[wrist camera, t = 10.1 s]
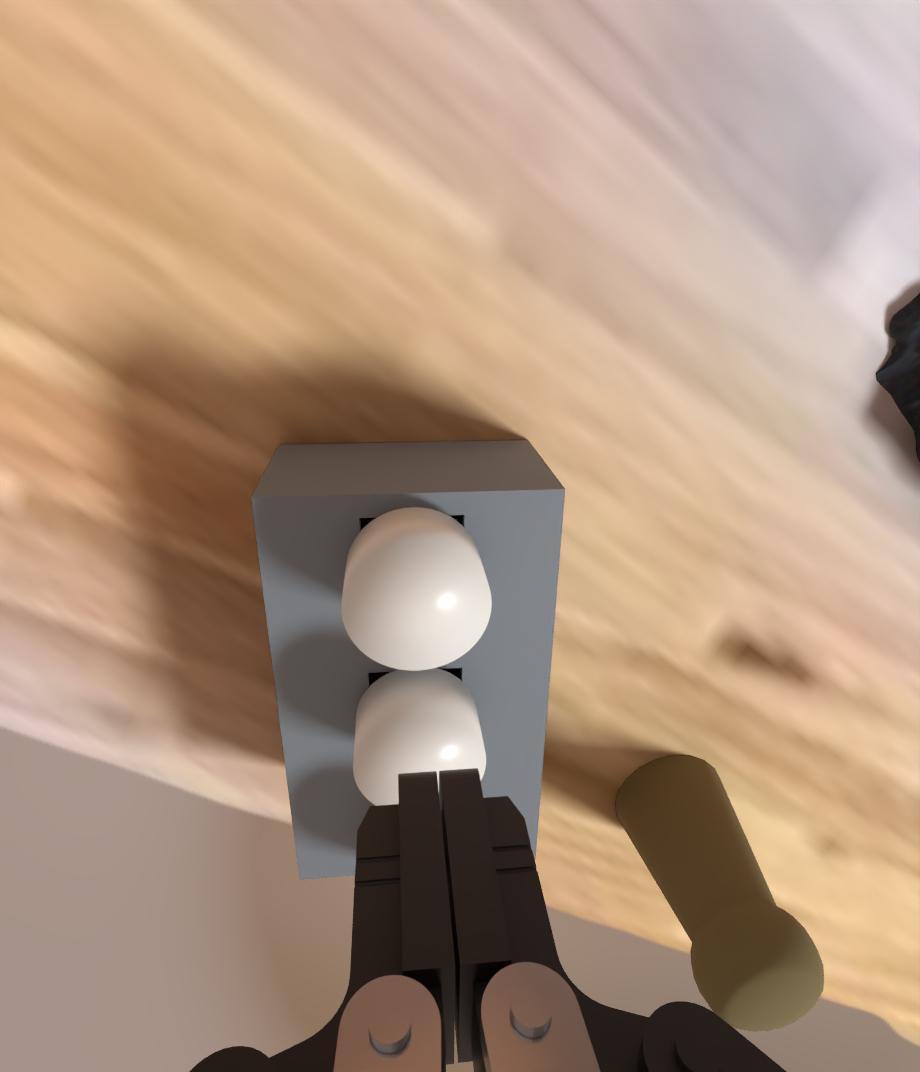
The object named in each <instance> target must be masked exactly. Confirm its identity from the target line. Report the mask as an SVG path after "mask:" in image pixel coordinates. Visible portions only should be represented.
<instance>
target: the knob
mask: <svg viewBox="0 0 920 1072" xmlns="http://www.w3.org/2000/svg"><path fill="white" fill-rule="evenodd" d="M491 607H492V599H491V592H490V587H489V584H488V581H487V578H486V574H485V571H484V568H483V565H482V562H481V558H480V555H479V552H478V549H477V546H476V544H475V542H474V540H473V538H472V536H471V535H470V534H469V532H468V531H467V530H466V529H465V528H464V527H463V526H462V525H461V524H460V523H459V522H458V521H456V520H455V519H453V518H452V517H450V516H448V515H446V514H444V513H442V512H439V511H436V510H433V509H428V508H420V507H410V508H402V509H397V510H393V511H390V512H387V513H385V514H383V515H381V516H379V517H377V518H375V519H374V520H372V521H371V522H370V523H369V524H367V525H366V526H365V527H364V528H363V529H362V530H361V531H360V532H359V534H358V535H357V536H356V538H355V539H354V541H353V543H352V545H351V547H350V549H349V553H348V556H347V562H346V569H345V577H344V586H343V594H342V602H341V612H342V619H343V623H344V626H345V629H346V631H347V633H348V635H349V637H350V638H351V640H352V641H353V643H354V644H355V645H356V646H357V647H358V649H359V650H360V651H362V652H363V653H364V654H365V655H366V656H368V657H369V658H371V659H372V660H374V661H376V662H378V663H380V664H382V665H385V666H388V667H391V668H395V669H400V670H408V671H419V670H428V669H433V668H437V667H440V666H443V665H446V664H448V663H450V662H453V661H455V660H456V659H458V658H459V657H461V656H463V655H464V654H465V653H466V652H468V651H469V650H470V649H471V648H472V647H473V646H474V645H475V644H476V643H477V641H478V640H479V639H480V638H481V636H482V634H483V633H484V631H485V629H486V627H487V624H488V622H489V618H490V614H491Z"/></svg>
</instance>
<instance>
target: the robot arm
mask: <svg viewBox="0 0 920 1072" xmlns="http://www.w3.org/2000/svg"><path fill="white" fill-rule="evenodd" d="M398 794H399V804H394V805H380V806H370V807H369V809H368V811H367V813H366V815H365V817H364V819H363V821H362V823H361V825H360V826H359V828H358V830H357V846H356V866H355V888H354V909H353V929H352V949H351V970H350V980H349V986H348V990H347V993H346V995H345V998H344V1001H343V1003H342V1004H341V1006H340V1008H339V1009H338V1011H337V1013H336V1014H335V1015H334V1017H333V1018H332V1019H331V1020H330V1022H328V1023H327V1025H325V1026H324V1028H323V1029H321V1030H320V1031H319V1032H317V1033H316V1034H315V1035H313V1036H312V1037H310V1038H308V1039H307V1040H305V1041H303V1042H301V1043H299V1044H297V1045H295V1046H293V1047H291V1048H289V1049H286V1050H284V1051H282V1052H280V1053H278V1054H276V1055H274V1056H272V1057H270V1058H268V1057H267V1056H266V1055H265V1054H263V1053H262V1052H260V1051H259V1050H256V1049H254V1048H251V1047H244V1046H237V1047H230V1048H225V1049H222V1050H220V1051H217V1052H215V1053H213V1054H211V1055H210V1056H208V1057H206V1058H205V1059H203V1060H202V1061H201V1062H199V1063H198V1064H197V1065H196V1066H195V1067H194V1068H193V1069H192V1070H191V1071H190V1072H446V1064H454V1022H455V1031H456V1042H457V1053H458V1063H459V1062H469V1061H473V1066H474V1072H786V1071H785V1070H784V1069H782V1068H781V1067H780V1066H779V1065H778V1064H776V1063H775V1062H774V1061H773V1060H772V1059H770V1058H769V1057H768V1056H767V1055H766V1054H764V1053H763V1052H762V1051H760V1050H759V1049H758V1048H757V1047H756V1046H755V1045H753V1044H752V1043H751V1042H750V1041H749V1040H747V1039H746V1038H745V1037H743V1035H741V1034H740V1033H739V1032H737V1031H736V1030H735V1029H734V1028H733V1027H732V1026H730V1025H729V1024H728V1023H727V1022H726V1021H724V1020H723V1019H722V1018H721V1017H719V1016H718V1015H716V1014H715V1013H714V1012H712V1011H710V1010H709V1009H706V1008H705V1007H703V1006H700V1005H697V1004H695V1003H690V1002H671V1003H668V1004H665V1005H663V1006H661V1007H659V1008H658V1009H657V1010H655V1011H654V1012H653V1014H652V1015H651V1016H650V1017H645V1016H641V1015H637V1014H633V1013H630V1012H625V1011H622V1010H618V1009H614V1008H611V1007H608V1006H605V1005H602V1004H600V1003H598V1002H596V1001H594V1000H592V999H591V998H589V997H588V996H586V995H584V994H583V993H582V992H581V991H580V990H579V989H578V988H577V987H576V986H575V985H574V984H573V983H572V981H571V980H570V979H569V978H568V976H567V975H566V973H565V972H564V970H563V968H562V966H561V964H560V961H559V958H558V955H557V951H556V947H555V943H554V939H553V934H552V930H551V926H550V922H549V918H548V914H547V910H546V905H545V901H544V897H543V893H542V889H541V884H540V880H539V876H538V872H537V871H536V864H535V860H534V855H533V851H532V849H531V843H530V839H529V835H528V830H527V826H526V822H525V818H524V817H523V815H522V814H521V813H520V811H519V810H518V809H517V807H516V806H515V805H514V803H513V802H512V801H511V799H510V798H509V797H508V796H501V797H487V798H483V792H482V787H481V781H480V775H479V771H478V769H477V768H473V769H458V770H443V771H439V791H438V780H437V772H436V771H432V772H417V773H402V774H398Z"/></svg>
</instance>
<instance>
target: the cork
mask: <svg viewBox="0 0 920 1072" xmlns="http://www.w3.org/2000/svg"><path fill="white" fill-rule="evenodd" d="M615 807H616V815H617V817H618V819H619V821H620V822H621V824H622V826H623V827H624V829H625V831H626V832H627V834H628V836H629V837H630V839H631V841H632V843H633V844H634V846H635V848H636V849H637V851H638V853H639V854H640V856H641V858H642V859H643V861H644V863H645V864H646V866H647V868H648V869H649V871H650V873H651V874H652V876H653V878H654V879H655V881H656V883H657V884H658V886H659V888H660V889H661V891H662V893H663V894H664V896H665V898H666V899H667V901H668V903H669V904H670V906H671V908H672V909H673V911H674V913H675V915H676V916H677V918H678V920H679V921H680V923H681V925H682V926H683V928H684V930H685V931H686V933H687V935H688V936H689V938H690V940H691V941H692V947H691V964H692V969H693V975H694V979H695V981H696V984H697V986H698V989H699V991H700V993H701V994H702V996H703V997H704V999H705V1000H706V1002H707V1003H708V1004H709V1006H710V1007H711V1009H712V1010H713V1012H714V1013H715V1014H716V1015H718V1016H719V1017H721V1018H722V1019H723V1020H724V1021H726V1022H727V1023H728V1024H729V1025H731V1026H733V1027H735V1028H737V1029H743V1030H748V1031H769V1030H773V1029H777V1028H781V1027H784V1026H786V1025H788V1024H790V1023H793V1022H795V1021H796V1020H798V1019H799V1018H801V1017H802V1016H804V1015H805V1014H806V1013H807V1012H808V1011H809V1010H810V1009H811V1008H812V1007H813V1006H814V1005H815V1004H816V1002H817V1001H818V999H819V997H820V995H821V993H822V991H823V985H824V972H823V964H822V961H821V958H820V955H819V953H818V950H817V948H816V946H815V944H814V942H813V941H812V939H811V938H810V936H809V934H808V933H807V931H806V930H805V928H804V927H803V926H802V925H801V924H800V923H799V922H798V921H797V920H796V919H795V918H794V917H793V916H792V915H790V914H789V913H787V912H786V911H785V910H783V909H781V908H779V907H777V906H776V904H775V901H774V899H773V897H772V895H771V892H770V890H769V888H768V886H767V883H766V881H765V879H764V877H763V874H762V872H761V870H760V868H759V865H758V863H757V861H756V859H755V856H754V854H753V852H752V850H751V847H750V845H749V843H748V841H747V838H746V836H745V834H744V832H743V829H742V827H741V825H740V823H739V820H738V818H737V816H736V814H735V811H734V809H733V807H732V805H731V802H730V800H729V798H728V796H727V793H726V791H725V789H724V787H723V784H722V782H721V780H720V778H719V776H718V774H717V772H716V770H715V768H714V767H712V766H711V765H710V764H708V763H707V762H706V761H705V760H702V759H699V758H696V757H693V756H679V755H673V756H669V757H665V758H660V759H656V760H654V761H652V762H650V763H648V764H646V765H644V766H642V767H640V768H639V769H638V770H637V771H635V772H634V773H633V774H632V775H631V776H629V777H628V778H627V780H626V781H625V782H624V784H623V785H622V787H621V788H620V790H619V792H618V795H617V799H616V802H615Z"/></svg>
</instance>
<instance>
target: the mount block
mask: <svg viewBox="0 0 920 1072" xmlns="http://www.w3.org/2000/svg"><path fill="white" fill-rule="evenodd" d="M564 496H565V488H564V487H563V486H562V484H561V483H560V482H559V480H558V479H557V478H556V476H555V475H554V474H553V472H552V471H551V470H550V468H549V467H548V466H547V464H546V463H545V462H544V460H543V459H542V458H541V456H540V455H539V454H538V452H537V451H536V450H535V449H534V447H533V446H532V445H531V443H530V442H529V441H528V440H494V441H441V442H388V443H335V444H282V445H279V446H278V448H277V450H276V451H275V453H274V455H273V457H272V459H271V461H270V463H269V465H268V466H267V468H266V470H265V472H264V474H263V476H262V478H261V479H260V481H259V483H258V485H257V487H256V489H255V491H254V493H253V494H252V496H251V503H252V511H253V518H254V526H255V534H256V542H257V550H258V557H259V565H260V573H261V581H262V589H263V597H264V604H265V612H266V620H267V628H268V636H269V643H270V651H271V659H272V667H273V675H274V682H275V690H276V698H277V706H278V714H279V721H280V729H281V737H282V745H283V753H284V760H285V768H286V776H287V784H288V792H289V799H290V807H291V815H292V823H293V830H294V838H295V846H296V854H297V861H298V870H299V877H300V880H304V879H315V878H327V877H339V876H351V875H355V866H356V846H357V830H358V828H359V826H360V825H361V823H362V821H363V819H364V817H365V815H366V813H367V811H368V809H369V807H370V806H376V805H374V804H373V803H372V802H370V801H369V800H368V799H367V798H366V797H365V796H364V795H363V794H362V793H361V791H360V790H359V788H358V786H357V784H356V782H355V779H354V774H353V758H354V742H355V725H356V712H357V707H358V704H359V701H360V699H361V697H362V696H363V694H364V693H365V691H366V690H367V689H368V688H369V687H370V682H369V673H375V672H393V671H395V670H398V669H395V668H391V667H388V666H385V665H382V664H380V663H378V662H376V661H374V660H372V659H371V658H369V657H368V656H366V655H365V654H364V653H363V652H362V651H360V650H359V649H358V647H357V646H356V645H355V644H354V643H353V641H352V640H351V638H350V637H349V635H348V633H347V631H346V629H345V626H344V623H343V619H342V612H341V602H342V594H343V586H344V577H345V569H346V562H347V556H348V553H349V549H350V547H351V545H352V543H353V541H354V539H355V538H356V536H357V535H358V534H359V532H360V531H361V521H360V518H377V517H379V516H381V515H383V514H385V513H387V512H390V511H393V510H397V509H402V508H410V507H420V508H428V509H433V510H436V511H439V512H442V513H444V514H446V515H462V526H463V527H464V528H465V529H466V530H467V531H468V532H469V534H470V535H471V536H472V538H473V540H474V542H475V544H476V546H477V549H478V552H479V555H480V558H481V562H482V565H483V568H484V571H485V574H486V578H487V581H488V584H489V587H490V592H491V599H492V607H491V614H490V618H489V622H488V624H487V627H486V629H485V631H484V633H483V634H482V636H481V638H480V639H479V640H478V641H477V643H476V644H475V645H474V646H473V647H472V648H471V649H470V650H469V651H468V652H466V653H465V654H464V655H463V656H461V657H459V658H458V659H456V660H455V661H453V662H450V663H448V664H446V665H443V666H440V667H437V669H448V668H460V680H461V681H462V682H463V683H465V685H466V686H467V687H468V688H469V690H470V691H471V693H472V695H473V697H474V700H475V703H476V708H477V713H478V718H479V723H480V728H481V733H482V738H483V743H484V748H485V753H486V768H485V772H484V775H483V777H482V780H481V787H482V792H483V798H487V797H501V796H508V797H509V798H510V799H511V801H512V802H513V803H514V805H515V806H516V807H517V809H518V810H519V811H520V813H521V814H522V815H523V817H524V818H525V822H526V826H527V830H528V835H529V839H530V843H531V849H532V851H533V855H534V860H535V856H536V844H537V831H538V819H539V807H540V794H541V782H542V769H543V757H544V744H545V732H546V720H547V707H548V695H549V682H550V670H551V658H552V645H553V633H554V620H555V608H556V595H557V583H558V571H559V558H560V546H561V533H562V521H563V509H564Z"/></svg>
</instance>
